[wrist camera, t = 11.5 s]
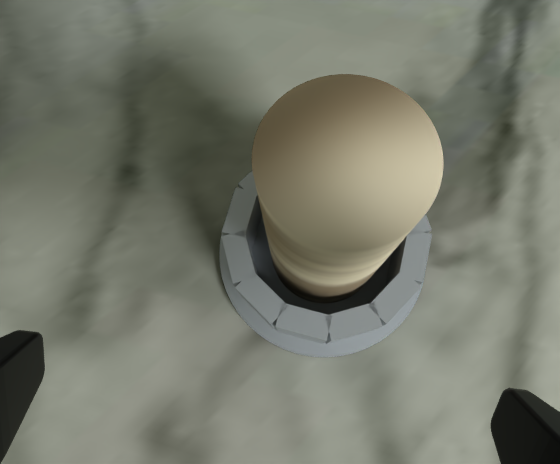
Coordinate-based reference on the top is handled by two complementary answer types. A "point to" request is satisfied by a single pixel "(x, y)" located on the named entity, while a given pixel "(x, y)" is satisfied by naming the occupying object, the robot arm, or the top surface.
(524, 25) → the top surface
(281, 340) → the round socket
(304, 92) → the birch plug
